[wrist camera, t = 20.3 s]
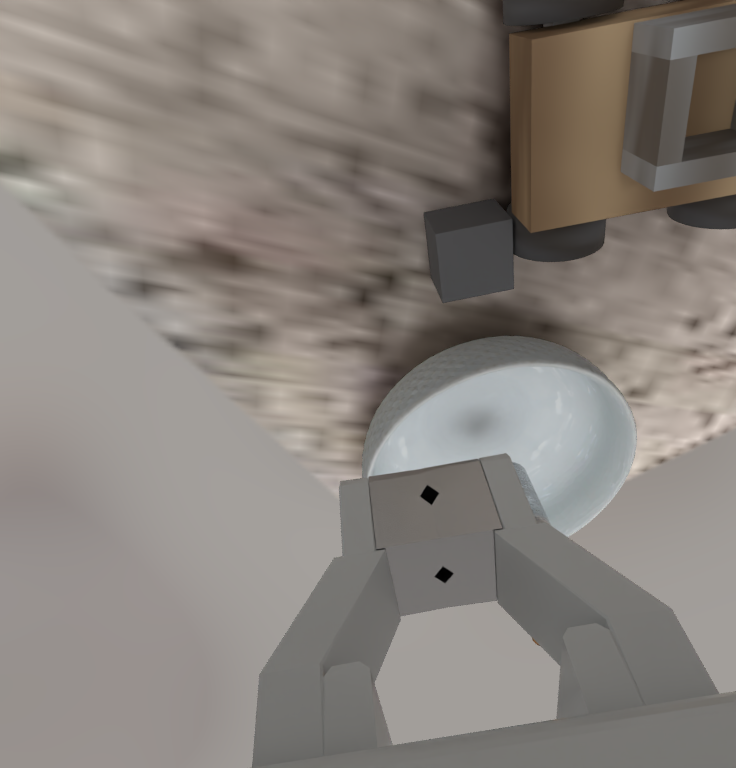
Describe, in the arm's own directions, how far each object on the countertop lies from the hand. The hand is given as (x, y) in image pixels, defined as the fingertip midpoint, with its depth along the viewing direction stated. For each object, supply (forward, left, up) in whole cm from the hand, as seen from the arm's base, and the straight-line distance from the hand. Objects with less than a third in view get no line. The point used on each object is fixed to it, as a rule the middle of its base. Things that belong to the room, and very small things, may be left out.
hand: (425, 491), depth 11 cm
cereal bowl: (-6, +19, -25) cm, 32 cm away
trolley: (-15, 0, -25) cm, 29 cm away
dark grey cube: (-6, +6, -25) cm, 26 cm away
